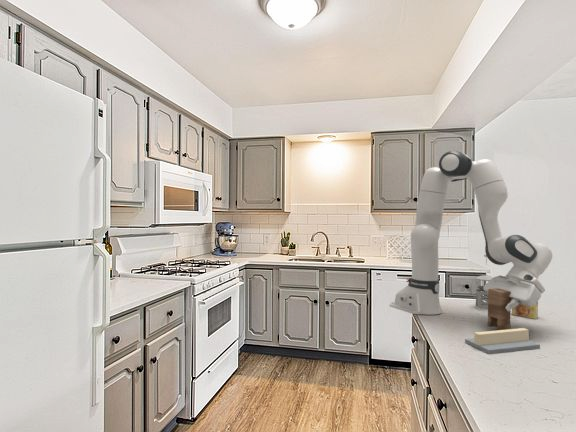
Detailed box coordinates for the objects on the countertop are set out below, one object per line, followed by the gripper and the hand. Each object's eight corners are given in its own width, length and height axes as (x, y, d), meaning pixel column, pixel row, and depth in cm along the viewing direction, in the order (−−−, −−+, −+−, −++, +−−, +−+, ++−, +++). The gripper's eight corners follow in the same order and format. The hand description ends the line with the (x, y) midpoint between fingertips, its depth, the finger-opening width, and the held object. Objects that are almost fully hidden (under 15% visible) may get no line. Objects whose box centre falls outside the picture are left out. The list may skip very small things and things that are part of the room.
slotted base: (488, 354, 110) (489, 338, 110) (465, 342, 120) (465, 328, 120) (539, 348, 115) (540, 333, 115) (513, 337, 125) (513, 324, 125)
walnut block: (500, 330, 128) (500, 292, 128) (487, 326, 134) (488, 288, 134) (510, 330, 129) (510, 291, 129) (497, 325, 135) (498, 288, 135)
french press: (501, 312, 157) (502, 255, 157) (473, 310, 159) (473, 255, 159) (493, 306, 167) (494, 253, 166) (466, 305, 169) (467, 252, 169)
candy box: (538, 317, 150) (538, 281, 149) (535, 319, 147) (536, 282, 147) (513, 313, 156) (514, 278, 156) (511, 314, 153) (511, 279, 153)
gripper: (492, 269, 143) (471, 294, 141) (540, 279, 123) (516, 308, 121) (501, 280, 144) (480, 305, 142) (550, 291, 124) (527, 320, 122)
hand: (497, 307), depth 131 cm, fingers closed on walnut block, 6 cm apart
